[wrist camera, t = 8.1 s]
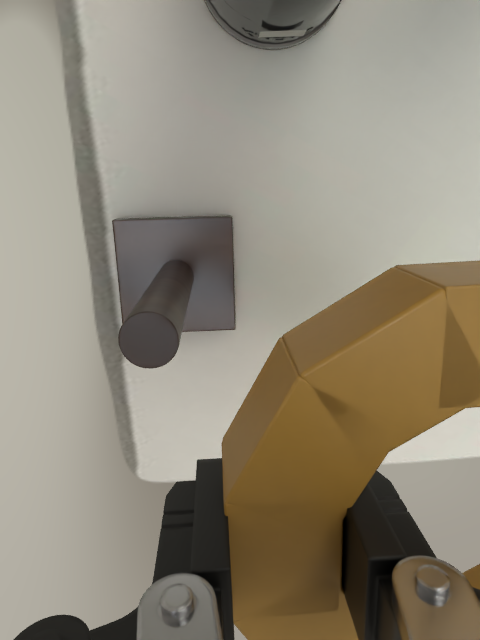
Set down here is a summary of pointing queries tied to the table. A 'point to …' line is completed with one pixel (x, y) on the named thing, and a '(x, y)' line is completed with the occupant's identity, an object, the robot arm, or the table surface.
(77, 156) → the table surface
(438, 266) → the ring
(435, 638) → the robot arm
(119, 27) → the table surface
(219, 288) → the stand
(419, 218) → the table surface
